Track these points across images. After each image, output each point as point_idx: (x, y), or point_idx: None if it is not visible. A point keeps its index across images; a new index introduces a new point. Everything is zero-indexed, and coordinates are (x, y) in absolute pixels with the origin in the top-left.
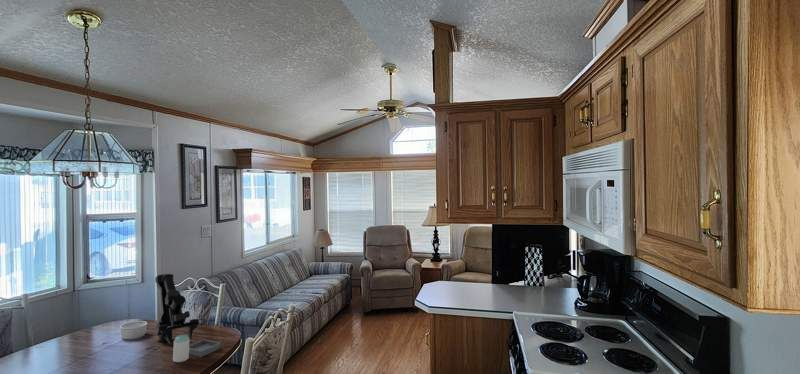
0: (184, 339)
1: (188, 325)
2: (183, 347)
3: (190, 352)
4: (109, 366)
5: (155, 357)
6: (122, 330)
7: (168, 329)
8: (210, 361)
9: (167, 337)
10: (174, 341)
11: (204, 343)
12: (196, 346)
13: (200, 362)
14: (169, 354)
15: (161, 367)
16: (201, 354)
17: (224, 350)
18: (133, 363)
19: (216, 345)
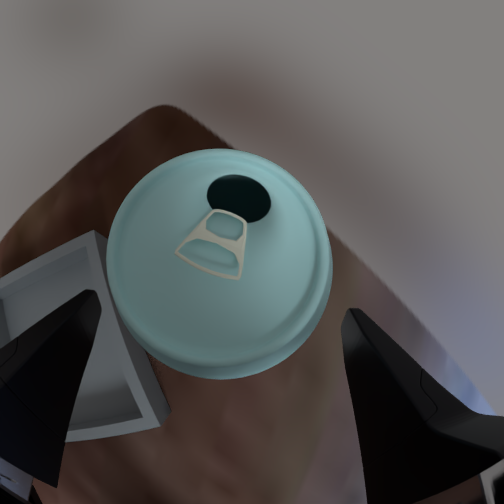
0: (207, 161)
1: (2, 492)
2: (227, 194)
3: (137, 346)
4: None
5: (342, 450)
6: None
7: (494, 450)
8: (111, 147)
9: (422, 370)
10: (330, 254)
11: None
12: (80, 423)
13: (150, 166)
14: (258, 451)
15: (358, 257)
16: (101, 238)
17: (5, 248)
18: None
19: (2, 279)
